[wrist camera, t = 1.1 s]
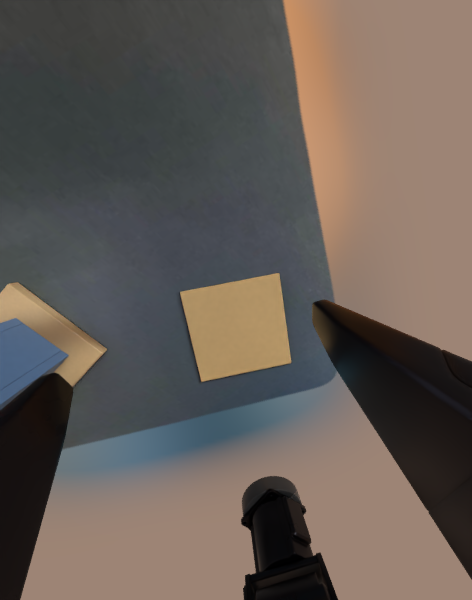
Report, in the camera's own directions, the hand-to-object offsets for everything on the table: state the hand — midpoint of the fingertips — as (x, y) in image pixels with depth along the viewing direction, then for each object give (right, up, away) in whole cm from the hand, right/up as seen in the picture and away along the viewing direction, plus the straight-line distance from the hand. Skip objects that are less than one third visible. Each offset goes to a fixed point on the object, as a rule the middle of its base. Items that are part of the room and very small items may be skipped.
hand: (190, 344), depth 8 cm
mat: (+2, -1, +16) cm, 16 cm away
